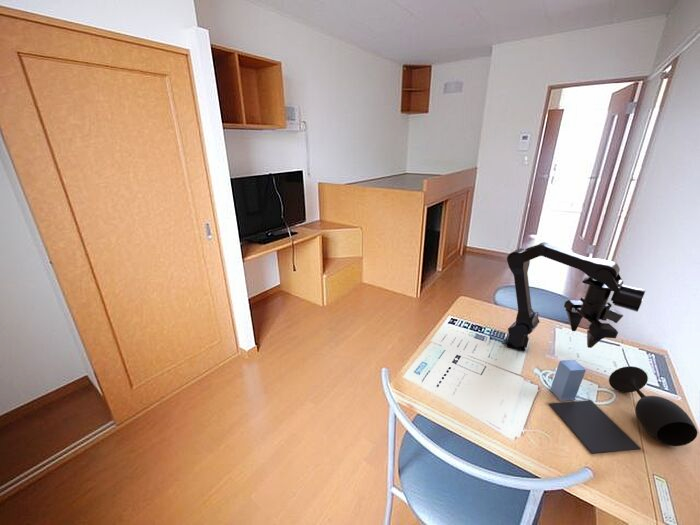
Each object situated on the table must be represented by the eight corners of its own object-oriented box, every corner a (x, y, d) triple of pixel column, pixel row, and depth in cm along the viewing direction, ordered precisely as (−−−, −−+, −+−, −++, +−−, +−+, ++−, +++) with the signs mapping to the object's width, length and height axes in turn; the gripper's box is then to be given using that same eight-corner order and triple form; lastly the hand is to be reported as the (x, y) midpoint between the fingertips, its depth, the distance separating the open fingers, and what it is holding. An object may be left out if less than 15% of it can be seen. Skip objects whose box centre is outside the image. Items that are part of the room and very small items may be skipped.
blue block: (549, 389, 99) (559, 360, 95) (564, 388, 100) (574, 359, 95) (560, 400, 95) (570, 370, 91) (574, 399, 96) (586, 369, 91)
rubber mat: (548, 404, 94) (549, 403, 94) (590, 401, 95) (591, 400, 95) (591, 453, 79) (592, 452, 79) (640, 449, 80) (640, 448, 80)
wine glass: (647, 364, 94) (703, 418, 76) (647, 390, 97) (700, 448, 79) (607, 368, 97) (652, 420, 79) (609, 393, 100) (652, 449, 82)
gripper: (645, 316, 88) (626, 359, 94) (603, 287, 105) (589, 325, 111) (604, 313, 89) (588, 356, 95) (569, 285, 106) (557, 322, 112)
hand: (581, 338), depth 104 cm, fingers open, 9 cm apart
